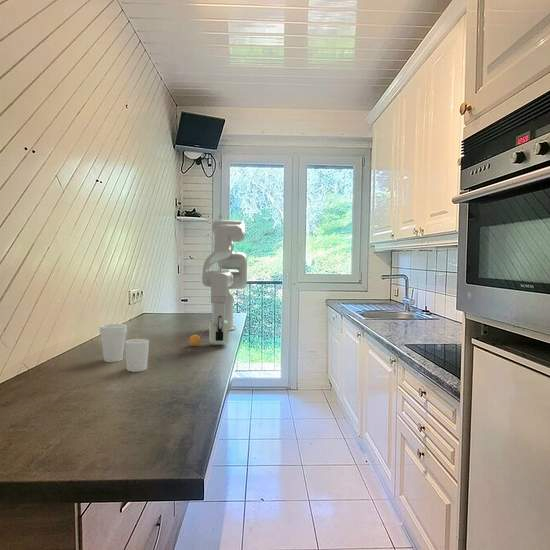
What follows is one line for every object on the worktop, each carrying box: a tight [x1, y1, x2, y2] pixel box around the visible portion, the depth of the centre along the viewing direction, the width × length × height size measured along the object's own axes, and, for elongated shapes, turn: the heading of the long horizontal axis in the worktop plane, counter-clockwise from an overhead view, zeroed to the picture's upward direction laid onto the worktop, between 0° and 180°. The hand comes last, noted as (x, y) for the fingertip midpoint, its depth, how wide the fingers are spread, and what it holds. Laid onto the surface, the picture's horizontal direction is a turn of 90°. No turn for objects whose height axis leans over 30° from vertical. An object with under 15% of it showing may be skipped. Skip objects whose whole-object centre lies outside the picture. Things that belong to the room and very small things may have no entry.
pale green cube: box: [208, 319, 229, 344], centre depth 177 cm, size 8×8×9 cm
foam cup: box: [99, 323, 128, 363], centre depth 149 cm, size 10×9×13 cm
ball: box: [188, 334, 202, 347], centre depth 175 cm, size 5×5×5 cm
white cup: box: [124, 338, 150, 373], centre depth 138 cm, size 8×8×10 cm
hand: (218, 338), depth 177 cm, fingers closed on pale green cube, 7 cm apart
